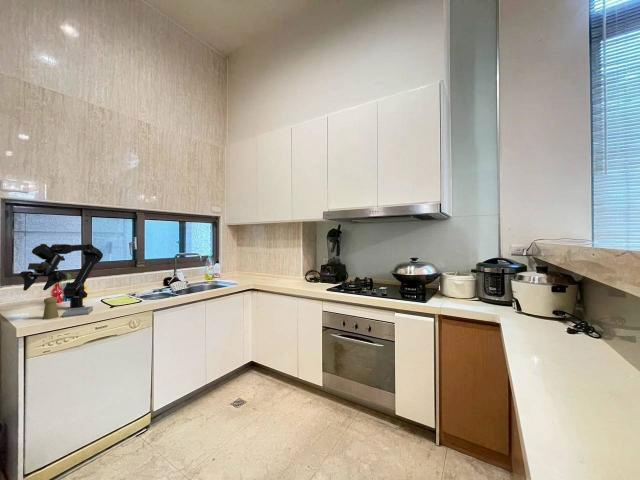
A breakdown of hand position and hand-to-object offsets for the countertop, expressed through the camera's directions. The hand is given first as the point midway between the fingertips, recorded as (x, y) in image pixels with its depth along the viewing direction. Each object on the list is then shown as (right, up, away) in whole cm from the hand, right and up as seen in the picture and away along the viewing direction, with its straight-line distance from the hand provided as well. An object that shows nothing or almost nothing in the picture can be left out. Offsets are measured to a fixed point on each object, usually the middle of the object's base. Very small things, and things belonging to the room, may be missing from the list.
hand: (34, 290), depth 133 cm
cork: (+2, -16, +6) cm, 17 cm away
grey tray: (+10, -16, +14) cm, 23 cm away
